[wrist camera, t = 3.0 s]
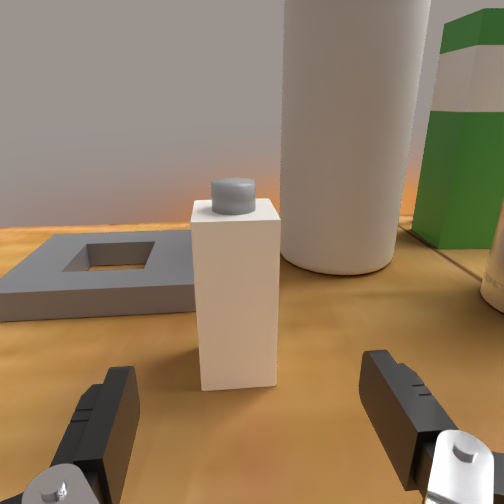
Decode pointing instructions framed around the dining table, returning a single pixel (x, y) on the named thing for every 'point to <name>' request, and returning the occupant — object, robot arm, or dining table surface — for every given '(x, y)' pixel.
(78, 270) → the socket plate
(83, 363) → the dining table surface
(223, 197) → the white block with knob
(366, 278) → the dining table surface
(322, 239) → the cylinder vase
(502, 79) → the green cereal box
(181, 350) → the dining table surface
